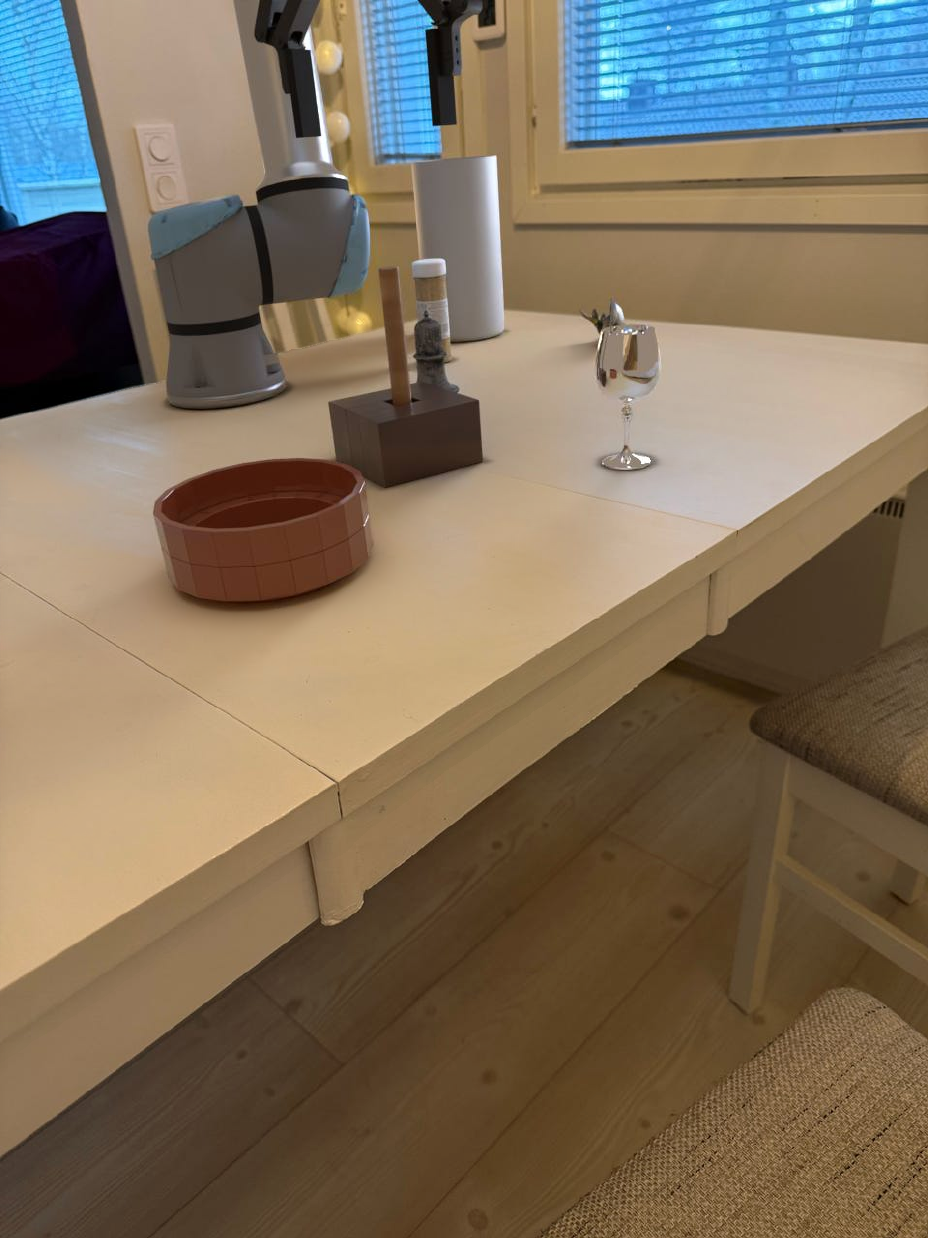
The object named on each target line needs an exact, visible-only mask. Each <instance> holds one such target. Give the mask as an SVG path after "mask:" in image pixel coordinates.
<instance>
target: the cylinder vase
mask: <svg viewBox="0 0 928 1238" xmlns="http://www.w3.org/2000/svg"><path fill="white" fill-rule="evenodd" d="M497 159H498V158H497V155H495V154H494V155H477V156H463V157H449V158H439V159H428V160H417V161H411V162H410V166H411V178H412V179H411V180H412V189H413V190H412V191H413V198H414V199H413V202H414V212H415V213H414V214H415V224H416V225H415V226H416V236H417V246H418V247H417V248H418V258H419V259H418V260H423V259H443V260H445V266H446V274H445V275H446V277H445V284H446V294H447V303H448V316H449V330H450V343H459V342H472V341H480V340H485V339H490V338H493V337H496V336H498V335H500V334H502V333H503V331H504V330H505V311H504V310H505V309H504V307H505V304H504V287H503V286H504V284H503V268H502V267H503V266H502V263H503V262H502V245H501V226H500V225H501V224H500V203H499V183H498V163H497V162H498V160H497Z"/></svg>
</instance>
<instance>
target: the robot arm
mask: <svg viewBox="0 0 928 1238" xmlns="http://www.w3.org/2000/svg"><path fill="white" fill-rule="evenodd" d="M232 1H233V8H234V13H235V18H236V24H237V29H238V34H239V40H240V46H241V50H242V56H243V61H244V66H245V73H246V77H247V78H246V79H247V83H248V88H249V94H250V101H251V105H252V112H253V116H254V122H255V127H256V131H257V132H256V133H257V138H258V144H259V149H260V154H261V160H262V166H263V171H264V172H263V177H262V179H260V180H261V181H259V183H258V185H257V186H256V188H255V197H256V201H257V204H253V205H245V206H244V201H243V200H242V198H241V196H240V195H239V194H236V193H232V194H225V195H220V196H216V197H211V198H206V199H205V198H204V199H200V200H197V201H193V202H189V203H185V204H181V205H176V206H174V207H170V208H166V209H162V210H160V211H158V212H156V213H155V214H153V215H152V216H151V217H150V218H149V220H148V223H147V233H148V239H149V245H150V251H151V254H150V259H151V261H153V262H154V267H155V272H156V277H157V282H158V287H159V292H160V297H161V302H162V306H163V307H162V308H163V312H164V316H165V317H164V318H165V321H166V326H167V330H168V334H169V335H168V336H169V350H168V361H167V372H166V381H165V387H166V395H167V399H168V402H169V404H170V405H172V406H175V407H177V408H183V409H197V410H199V409H203V410H204V409H219V408H229V407H235V406H236V407H237V406H242V405H246V404H251V403H252V404H253V403H256V402H260V401H263V400H267V399H270V398H272V397H275V396H277V395H279V394H281V393H283V391H284V390H286V388H287V383H286V382H287V381H286V377H285V376H286V375H285V373H284V369H283V368H282V365H281V363H280V358H279V352H275V351H274V349H273V346H272V345H271V343H270V341H269V339H268V337H267V335H266V333H265V331H264V328H263V324H262V317H261V311H260V307H261V306H266V305H267V306H268V305H275V304H284V303H290V302H291V303H293V302H300V301H301V302H302V301H307V300H317V299H318V300H319V299H325V298H326V299H333V298H334V297H338V296H343V295H351V294H354V293H356V292H358V291H360V290H361V289H362V287H363V286H364V284H365V283H366V280H367V276H368V272H369V266H370V257H371V256H370V255H371V227H370V216H369V212H368V209H367V204H366V201H365V199H364V198H363V196H361V195H358V194H356V193H352V194H351V191H350V185H349V179H348V177H346V175H344V173H342V172H341V171H340V170H338V169H337V168H336V167H335V165H334V162H333V155H332V149H331V143H330V137H329V132H328V131H329V130H328V124H327V119H326V113H325V106H324V100H323V95H322V88H321V82H320V76H319V71H318V64H317V58H316V57H317V56H316V52H315V46H314V39H313V33H312V28H311V27H312V25H311V23H312V22H313V19H314V16H315V14H316V11H317V9H318V7H319V4H320V2H321V0H232ZM417 2H418V3H419V5H420V6H421V7H422V8H423V9H424V11H425V12H426V13H427V16H429V17H430V19H431V20H432V21H431V22H430V24H431V25H432V26H434V27H437V28H434V27H433V28H428V29H424V32H425V46H426V58H427V59H426V60H427V72H428V73H427V74H428V85H429V97H430V110H431V124H432V127H440V126H441V127H442V126H457V125H458V121H457V106H456V91H455V90H456V89H455V78H454V77H457V76H461V75H462V70H463V58H462V57H463V56H462V39H461V38H462V37H461V28H462V25H463V24H464V22H465V21H466V20H468V19H470V18H471V17H473V16H477V15H479V14H480V13H481V12H482V10H483V1H482V0H417Z"/></svg>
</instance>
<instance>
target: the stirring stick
mask: <svg viewBox="0 0 928 1238" xmlns="http://www.w3.org/2000/svg"><path fill="white" fill-rule="evenodd" d="M399 268H400V267H399V266H395V265H394V266H393V265H389V266H382V267H379V268H377V269H378V271H377V272H378V280H379V285H380V286H379V288H380V297H381V307H382V316H383V324H384V335H385V343H386V353H387V362H388V370H389V372H388V373H389V379H390V380H389V381H390V388H391V391H392V400H393V405H394V406H400V405H405V404H409V403H412V401H411V390H410V384H411V380H410V371H409V363H408V362H409V361H408V352H407V351H408V350H407V339H406V330H405V321H404V309H403V301H402V300H403V299H402V289H401V280H400V279H401V278H400V269H399Z"/></svg>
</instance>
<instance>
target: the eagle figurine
mask: <svg viewBox="0 0 928 1238" xmlns="http://www.w3.org/2000/svg"><path fill="white" fill-rule="evenodd" d="M578 312H579V314H580V315H581V316H582V318H583V319H584V320H587V321H589V322H590V323H591V324H593V326H594V327H595V328H596V331H597V333H598V335H599V336H600V333H601V330H602V329H604V328H607V327H611V326H617V325H627V324H626V323H624V322H625V317H624V313H623V310H622V307H620V306H619V304H617V303H616V301H615V300H614V299H613V298H610V305H609V314H607V313H606V310H602V315H601V317H599V313H598V311H597V309H596V307H594V308H593V310H592V311H591V316H589V314H586V313H585V312H584V311H583V310H582V309H578Z"/></svg>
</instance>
